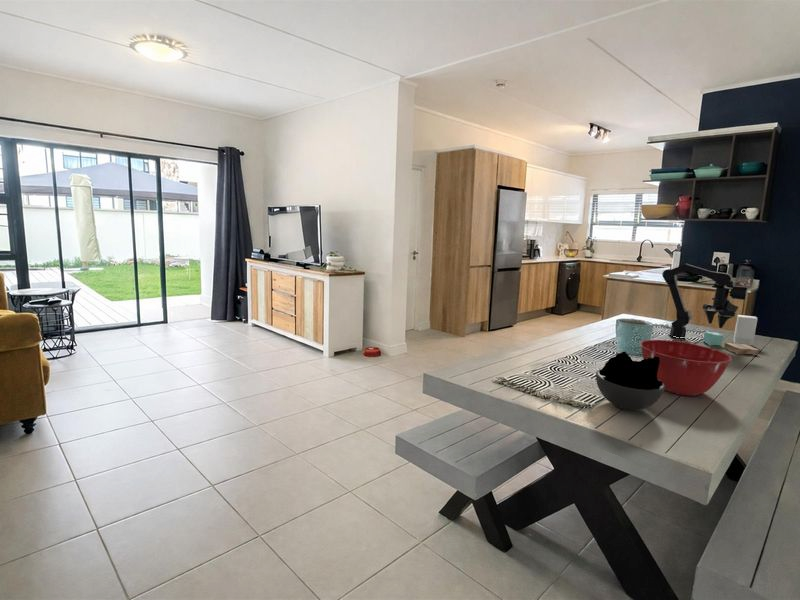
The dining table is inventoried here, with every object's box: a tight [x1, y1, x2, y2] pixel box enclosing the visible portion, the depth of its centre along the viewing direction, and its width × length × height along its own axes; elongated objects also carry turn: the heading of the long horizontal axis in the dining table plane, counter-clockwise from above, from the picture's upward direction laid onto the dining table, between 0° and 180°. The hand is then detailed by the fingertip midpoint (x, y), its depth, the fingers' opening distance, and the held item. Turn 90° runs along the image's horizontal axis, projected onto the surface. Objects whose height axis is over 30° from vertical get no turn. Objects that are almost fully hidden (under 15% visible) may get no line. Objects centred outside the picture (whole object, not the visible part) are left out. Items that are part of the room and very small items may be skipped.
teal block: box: [702, 331, 724, 346], centre depth 233 cm, size 6×6×6 cm
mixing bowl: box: [639, 339, 733, 397], centre depth 162 cm, size 28×28×16 cm
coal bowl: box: [595, 351, 665, 411], centre depth 142 cm, size 20×20×19 cm
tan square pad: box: [723, 342, 760, 356], centre depth 220 cm, size 10×10×3 cm
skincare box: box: [732, 314, 758, 346], centre depth 236 cm, size 8×7×16 cm
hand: (715, 325), depth 231 cm, fingers open, 9 cm apart
